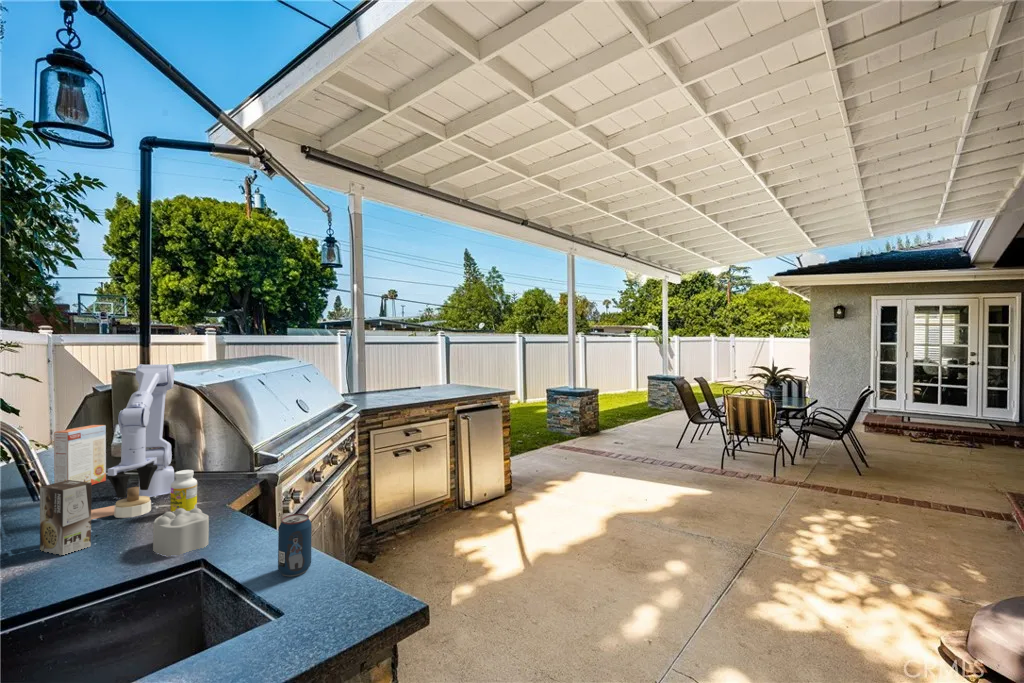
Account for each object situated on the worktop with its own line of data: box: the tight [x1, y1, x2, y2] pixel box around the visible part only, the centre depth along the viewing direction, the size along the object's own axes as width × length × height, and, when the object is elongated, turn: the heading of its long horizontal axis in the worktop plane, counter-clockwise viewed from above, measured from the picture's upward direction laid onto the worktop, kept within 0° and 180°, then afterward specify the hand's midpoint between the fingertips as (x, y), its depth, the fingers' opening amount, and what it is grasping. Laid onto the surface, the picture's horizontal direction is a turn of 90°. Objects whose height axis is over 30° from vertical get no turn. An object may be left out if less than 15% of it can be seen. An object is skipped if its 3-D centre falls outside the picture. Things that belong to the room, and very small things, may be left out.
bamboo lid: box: [115, 486, 151, 507], centre depth 145 cm, size 8×8×4 cm
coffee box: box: [39, 480, 93, 556], centre depth 121 cm, size 9×6×16 cm
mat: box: [91, 505, 114, 521], centre depth 145 cm, size 10×10×1 cm
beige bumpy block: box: [152, 507, 210, 556], centre depth 123 cm, size 10×13×9 cm
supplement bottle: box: [169, 469, 198, 512], centre depth 145 cm, size 7×7×13 cm
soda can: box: [277, 513, 313, 577], centre depth 110 cm, size 7×7×12 cm
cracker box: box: [53, 424, 107, 486], centre depth 172 cm, size 14×6×21 cm, turn 174°
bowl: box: [113, 499, 152, 519], centre depth 145 cm, size 8×8×4 cm
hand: (133, 493), depth 145 cm, fingers open, 7 cm apart
